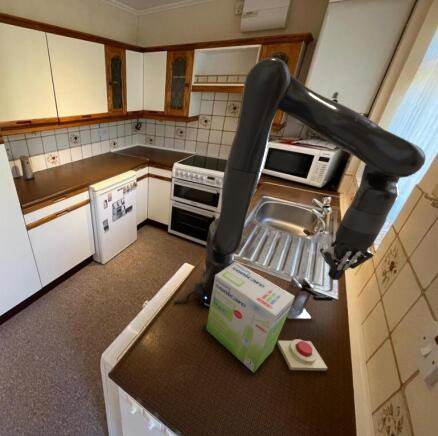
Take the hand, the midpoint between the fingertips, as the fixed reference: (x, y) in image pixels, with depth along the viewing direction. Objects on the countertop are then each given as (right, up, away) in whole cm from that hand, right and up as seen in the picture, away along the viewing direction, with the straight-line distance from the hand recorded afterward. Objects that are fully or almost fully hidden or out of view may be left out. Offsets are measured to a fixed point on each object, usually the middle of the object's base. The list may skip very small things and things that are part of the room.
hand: (333, 277), depth 67 cm
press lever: (0, -8, +9) cm, 12 cm away
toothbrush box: (-24, -22, +8) cm, 34 cm away
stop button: (-7, -21, +2) cm, 23 cm away
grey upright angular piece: (0, -16, +19) cm, 25 cm away
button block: (-7, -25, +3) cm, 26 cm away
